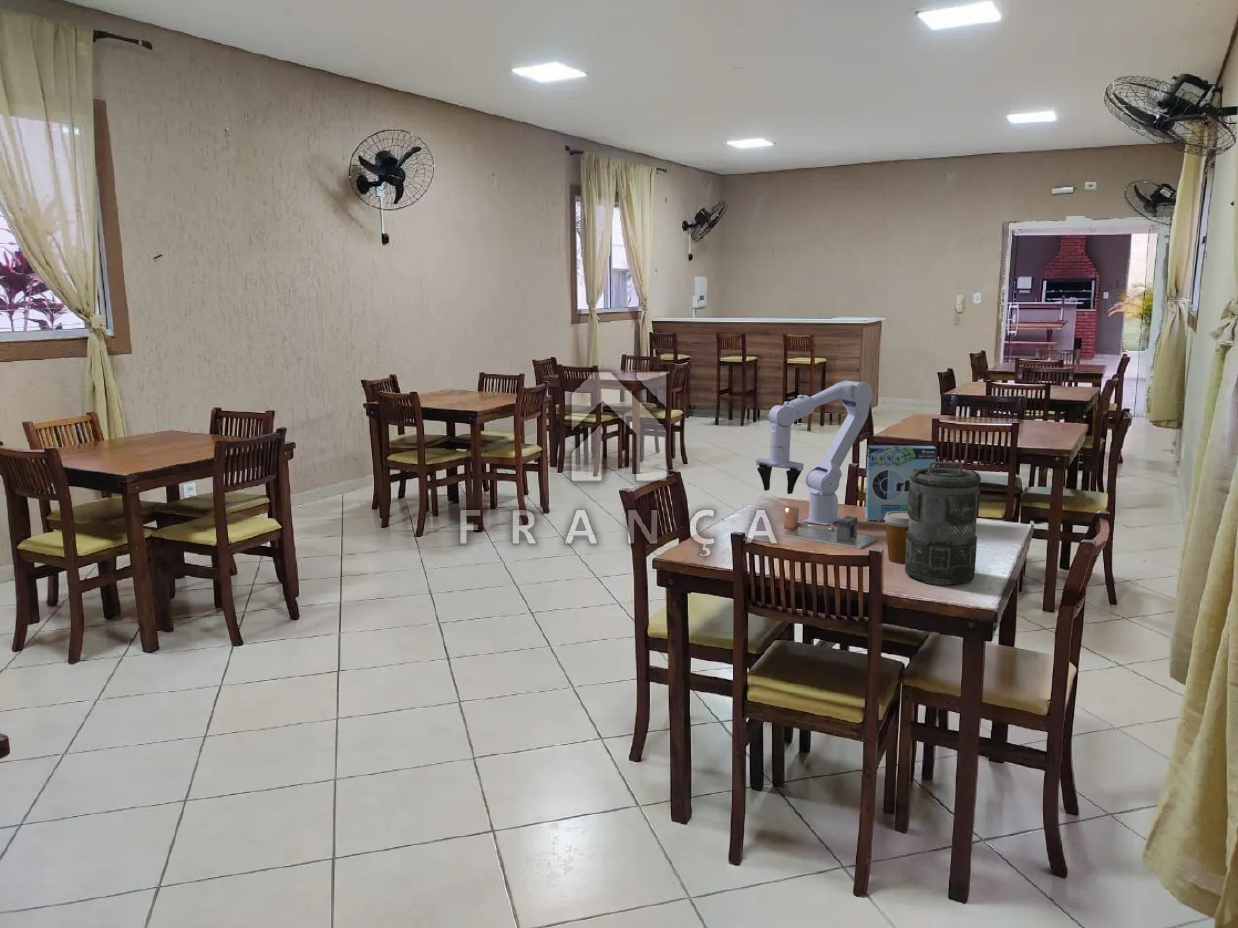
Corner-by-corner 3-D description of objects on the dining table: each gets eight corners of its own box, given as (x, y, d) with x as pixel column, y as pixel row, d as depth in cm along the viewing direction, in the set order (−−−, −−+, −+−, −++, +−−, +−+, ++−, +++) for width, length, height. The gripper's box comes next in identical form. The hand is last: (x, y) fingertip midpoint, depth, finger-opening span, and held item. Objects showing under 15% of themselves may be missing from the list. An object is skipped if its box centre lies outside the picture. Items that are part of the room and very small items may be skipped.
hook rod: (781, 528, 248) (782, 508, 247) (788, 526, 251) (788, 505, 250) (830, 536, 239) (831, 515, 238) (836, 533, 242) (836, 512, 241)
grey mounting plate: (801, 527, 253) (802, 507, 252) (877, 539, 239) (878, 518, 238) (783, 536, 244) (783, 515, 242) (860, 548, 230) (861, 526, 229)
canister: (909, 584, 199) (915, 467, 194) (900, 565, 215) (905, 455, 210) (981, 588, 196) (989, 468, 192) (966, 568, 212) (973, 457, 207)
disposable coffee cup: (920, 556, 222) (923, 511, 220) (920, 567, 213) (923, 520, 211) (882, 553, 225) (884, 509, 223) (881, 563, 216) (883, 517, 214)
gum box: (929, 519, 262) (933, 445, 258) (933, 523, 257) (937, 448, 253) (864, 517, 265) (867, 444, 261) (866, 521, 260) (869, 447, 256)
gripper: (751, 445, 252) (750, 490, 254) (796, 450, 243) (794, 497, 246) (763, 443, 258) (761, 487, 260) (807, 447, 249) (805, 493, 251)
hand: (778, 491), depth 253 cm, fingers open, 7 cm apart
